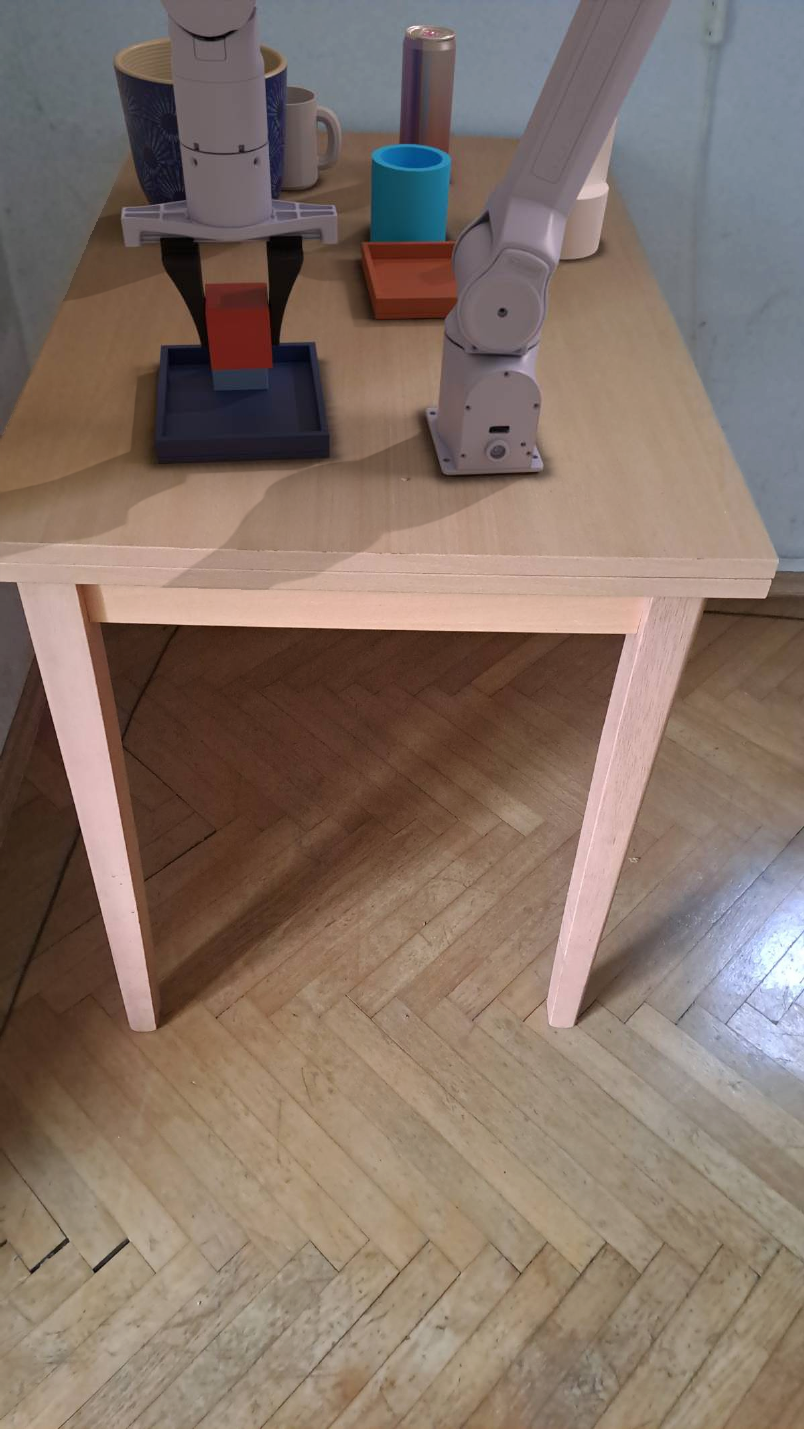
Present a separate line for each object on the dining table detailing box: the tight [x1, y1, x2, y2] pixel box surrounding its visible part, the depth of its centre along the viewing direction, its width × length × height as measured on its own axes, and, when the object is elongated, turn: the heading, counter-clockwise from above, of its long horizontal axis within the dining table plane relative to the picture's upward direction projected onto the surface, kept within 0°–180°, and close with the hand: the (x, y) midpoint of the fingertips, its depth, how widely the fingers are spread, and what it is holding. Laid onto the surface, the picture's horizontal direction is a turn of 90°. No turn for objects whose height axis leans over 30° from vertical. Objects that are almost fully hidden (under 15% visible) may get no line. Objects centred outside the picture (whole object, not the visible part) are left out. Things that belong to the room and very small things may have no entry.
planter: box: [112, 37, 288, 206], centre depth 103 cm, size 17×17×15 cm
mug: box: [369, 143, 452, 242], centre depth 106 cm, size 12×8×8 cm
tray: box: [360, 240, 457, 320], centre depth 98 cm, size 13×12×2 cm
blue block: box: [212, 368, 268, 391], centre depth 83 cm, size 4×4×4 cm
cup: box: [281, 85, 343, 191], centre depth 115 cm, size 7×10×9 cm
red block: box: [204, 281, 273, 370], centre depth 73 cm, size 4×4×4 cm
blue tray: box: [153, 341, 331, 464], centre depth 81 cm, size 15×13×2 cm
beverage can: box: [398, 24, 457, 156], centre depth 115 cm, size 6×6×15 cm
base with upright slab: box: [559, 117, 618, 260], centre depth 104 cm, size 9×9×12 cm
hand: (240, 340), depth 74 cm, fingers closed on red block, 4 cm apart
